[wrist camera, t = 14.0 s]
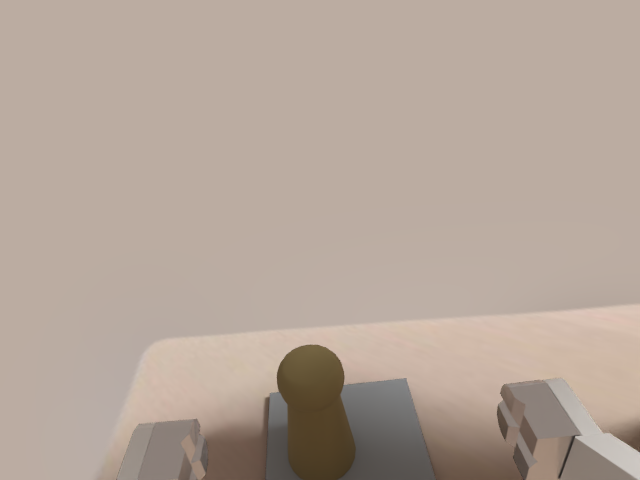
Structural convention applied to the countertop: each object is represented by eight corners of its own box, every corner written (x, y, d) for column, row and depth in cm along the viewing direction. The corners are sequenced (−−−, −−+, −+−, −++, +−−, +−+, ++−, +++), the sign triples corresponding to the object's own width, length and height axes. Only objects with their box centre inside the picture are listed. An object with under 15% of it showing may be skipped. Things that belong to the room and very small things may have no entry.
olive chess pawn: (362, 427, 39) (356, 339, 33) (345, 492, 34) (335, 401, 28) (301, 414, 41) (286, 328, 35) (277, 473, 36) (254, 384, 30)
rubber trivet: (406, 382, 44) (406, 378, 43) (449, 532, 31) (450, 528, 31) (270, 396, 43) (269, 393, 43) (262, 553, 31) (261, 549, 31)
